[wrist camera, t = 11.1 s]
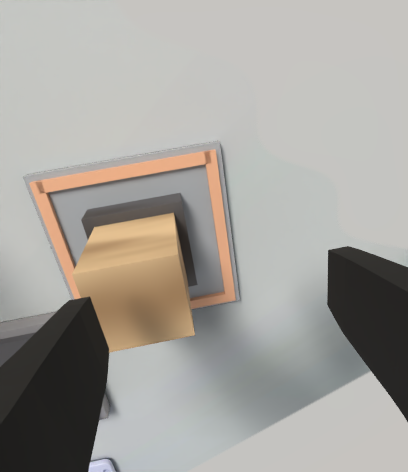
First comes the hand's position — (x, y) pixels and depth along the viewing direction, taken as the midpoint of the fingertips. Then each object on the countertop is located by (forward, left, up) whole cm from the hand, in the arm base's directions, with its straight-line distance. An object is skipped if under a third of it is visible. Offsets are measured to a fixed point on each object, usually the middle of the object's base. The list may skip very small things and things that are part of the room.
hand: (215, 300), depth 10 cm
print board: (-2, +3, -9) cm, 10 cm away
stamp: (-2, +3, -9) cm, 10 cm away
